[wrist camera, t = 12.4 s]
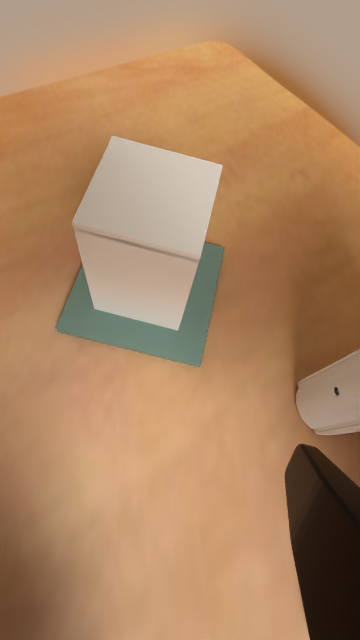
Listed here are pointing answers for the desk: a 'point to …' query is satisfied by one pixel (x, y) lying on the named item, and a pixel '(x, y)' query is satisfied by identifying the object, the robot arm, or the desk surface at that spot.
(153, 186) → the white lidded box
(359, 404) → the photo printer
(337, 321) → the desk surface
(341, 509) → the robot arm
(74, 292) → the mat
